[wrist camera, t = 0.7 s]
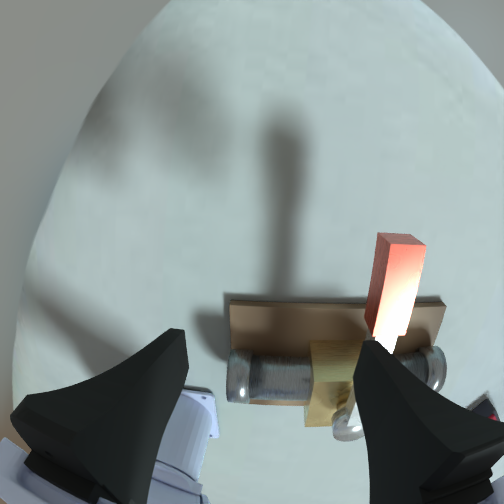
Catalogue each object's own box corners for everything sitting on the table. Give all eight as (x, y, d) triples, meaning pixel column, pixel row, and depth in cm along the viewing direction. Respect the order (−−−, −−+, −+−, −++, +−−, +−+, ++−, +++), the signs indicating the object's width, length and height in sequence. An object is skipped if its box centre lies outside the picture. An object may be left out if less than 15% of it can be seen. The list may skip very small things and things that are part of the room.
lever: (328, 426, 17) (330, 445, 16) (369, 232, 13) (382, 243, 11) (361, 424, 17) (365, 442, 15) (417, 234, 12) (433, 246, 11)
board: (235, 396, 26) (234, 402, 25) (231, 300, 22) (229, 305, 21) (408, 392, 24) (410, 398, 23) (442, 301, 20) (446, 306, 20)
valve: (235, 379, 24) (225, 429, 19) (233, 334, 23) (220, 384, 17) (416, 375, 23) (436, 418, 17) (433, 332, 21) (461, 374, 15)
